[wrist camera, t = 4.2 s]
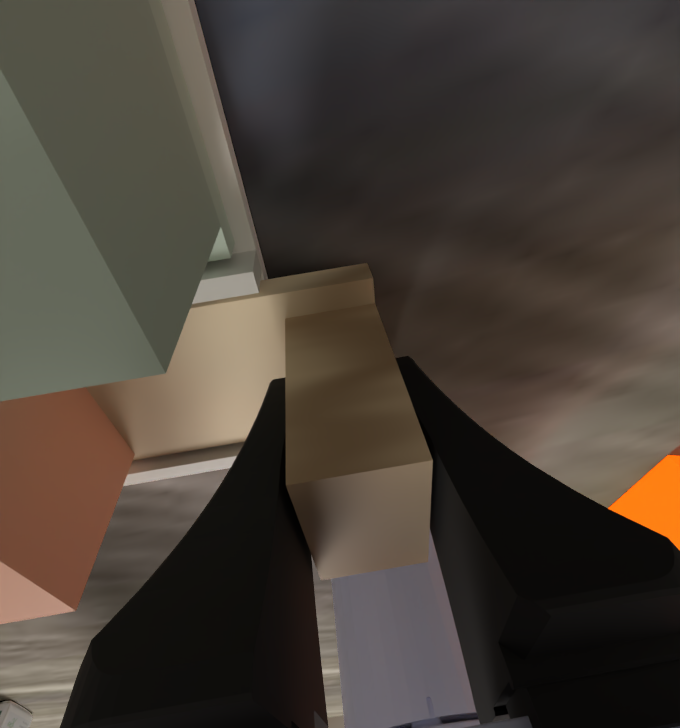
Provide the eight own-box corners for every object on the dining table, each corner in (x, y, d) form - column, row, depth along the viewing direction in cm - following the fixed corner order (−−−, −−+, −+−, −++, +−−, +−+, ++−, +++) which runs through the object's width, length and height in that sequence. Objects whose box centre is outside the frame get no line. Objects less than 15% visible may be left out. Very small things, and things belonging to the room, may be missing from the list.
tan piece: (366, 263, 11) (434, 430, 6) (378, 398, 15) (427, 575, 10) (-111, 342, 11) (-438, 579, 6) (16, 460, 15) (-125, 672, 10)
